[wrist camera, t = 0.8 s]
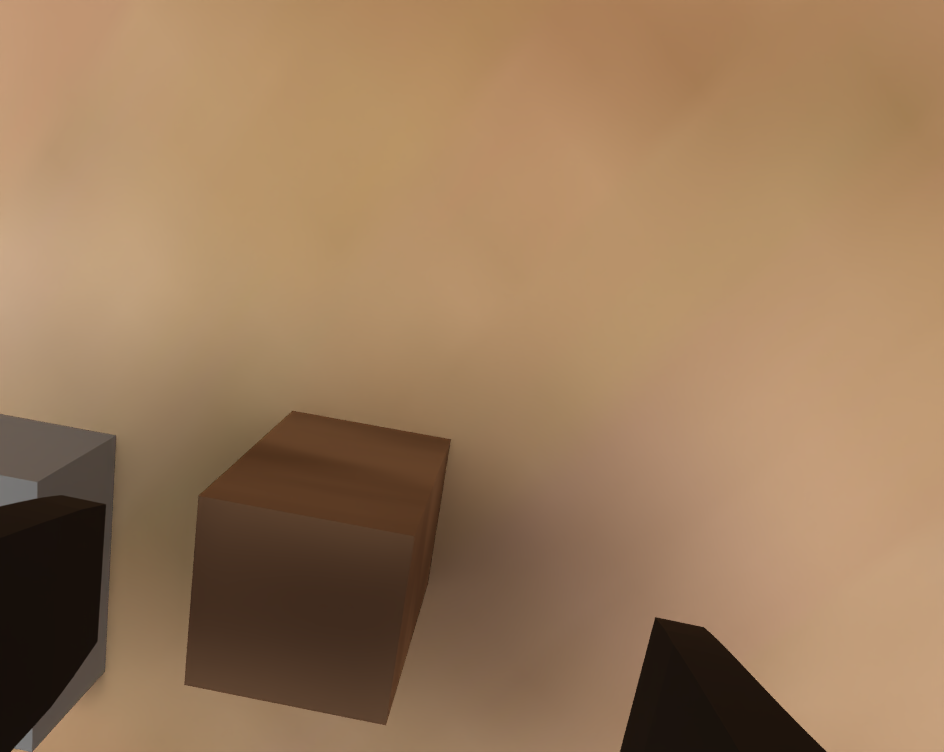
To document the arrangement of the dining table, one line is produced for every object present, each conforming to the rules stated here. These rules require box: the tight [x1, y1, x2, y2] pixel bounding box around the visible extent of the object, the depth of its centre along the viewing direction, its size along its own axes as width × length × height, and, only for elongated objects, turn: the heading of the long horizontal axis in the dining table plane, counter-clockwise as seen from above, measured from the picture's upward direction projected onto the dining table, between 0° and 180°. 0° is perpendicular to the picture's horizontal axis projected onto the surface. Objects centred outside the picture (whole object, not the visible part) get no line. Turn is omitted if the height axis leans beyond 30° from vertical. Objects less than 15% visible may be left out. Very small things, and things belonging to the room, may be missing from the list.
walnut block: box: [184, 411, 451, 725], centre depth 17 cm, size 4×4×6 cm
